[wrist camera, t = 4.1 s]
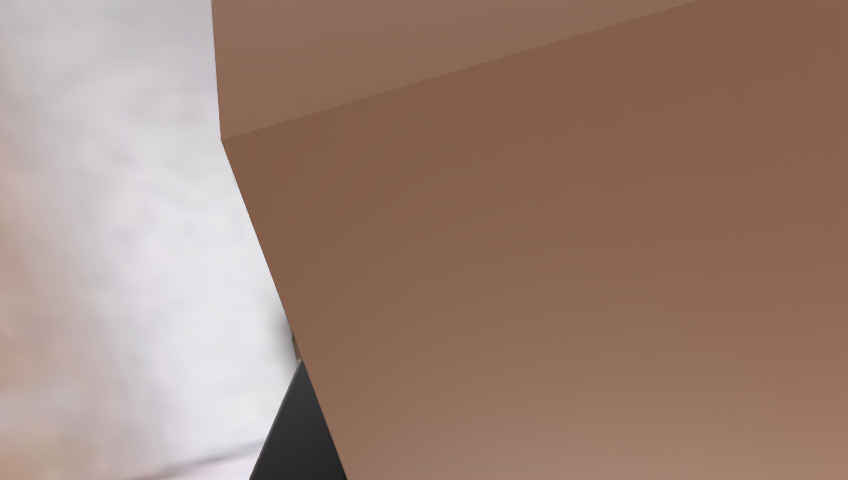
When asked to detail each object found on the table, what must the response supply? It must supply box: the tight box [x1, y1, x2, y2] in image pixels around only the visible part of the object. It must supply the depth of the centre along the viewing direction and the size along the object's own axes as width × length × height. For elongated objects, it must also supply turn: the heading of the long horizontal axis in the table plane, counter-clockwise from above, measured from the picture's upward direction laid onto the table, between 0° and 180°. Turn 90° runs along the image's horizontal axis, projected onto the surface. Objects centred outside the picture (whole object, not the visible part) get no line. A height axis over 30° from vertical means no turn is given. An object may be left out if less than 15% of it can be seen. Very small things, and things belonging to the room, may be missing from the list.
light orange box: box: [211, 0, 848, 480], centre depth 7 cm, size 4×9×6 cm, turn 12°
